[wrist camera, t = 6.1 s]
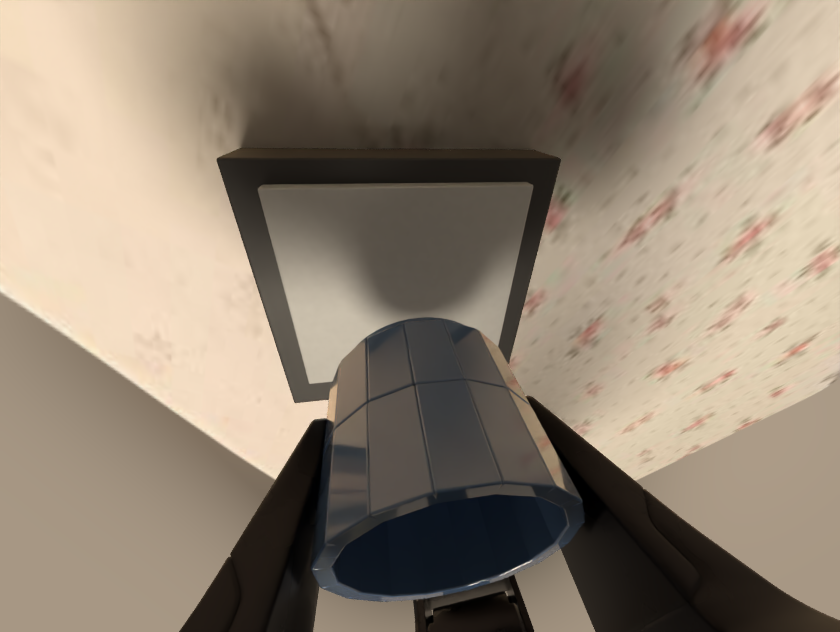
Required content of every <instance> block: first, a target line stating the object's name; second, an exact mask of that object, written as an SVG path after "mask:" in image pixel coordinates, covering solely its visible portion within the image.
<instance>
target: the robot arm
mask: <svg viewBox="0 0 840 632" xmlns="http://www.w3.org/2000/svg"><path fill="white" fill-rule="evenodd" d="M526 398H527V400H528V402H529V404H530V406H531V408H532V409H533V411H534V412H535V414H536V416H537V418H538V420H539V422H540V423H541V425H542V427H543V429H544V431H545V433H546V434H547V436H548V438H549V440H550V442H551V444H552V445H553V447H554V449H555V451H556V453H557V455H558V456H559V458H560V460H561V462H562V464H563V465H564V467H565V469H566V471H567V473H568V475H569V476H570V478H571V480H572V482H573V484H574V486H575V487H576V489H577V491H578V493H579V495H580V497H581V498H582V501H583V508H584V516H585V521H584V524H583V525H582V526H581V528H580V529H579V530H578V532H577V533H576V534H575V536H574V537H573V538H572V540H571V541H570V542H569V543H568V544H566V545H565V546H564V547H562V548H561V550H562V553H563V555H564V557H565V560H566V562H567V565H568V567H569V570H570V572H571V574H572V577H573V579H574V581H575V584H576V586H577V589H578V591H579V594H580V596H581V598H582V600H583V603H584V605H585V608H586V610H587V613H588V615H589V617H590V620H591V622H592V625H593V627H594V629H595V631H596V632H840V620H837V619H835V618H833V617H830V616H828V615H826V614H824V613H821V612H819V611H817V610H815V609H813V608H811V607H809V606H807V605H805V604H804V603H802V602H800V601H798V600H796V599H795V598H793V597H791V596H790V595H788V594H786V593H784V592H783V591H781V590H780V589H778V588H777V587H775V586H774V585H773V584H771V583H770V582H768V581H767V580H766V579H764V578H763V577H762V576H760V575H759V574H757V573H756V572H755V571H753V570H752V569H750V568H749V567H748V566H746V565H745V564H744V563H742V562H741V561H739V560H738V559H736V558H735V557H734V556H732V555H731V554H730V553H728V552H727V551H725V550H724V549H722V548H721V547H720V546H718V545H717V544H715V543H714V542H713V541H712V540H710V539H709V538H707V537H706V536H705V535H703V534H702V533H701V532H699V531H698V530H697V529H695V528H694V527H692V526H691V525H690V524H689V523H687V522H686V521H685V520H683V519H682V518H680V517H679V516H677V514H675V513H674V512H673V511H672V510H670V509H669V508H668V507H667V506H665V505H664V504H663V503H662V502H660V501H659V500H658V499H657V498H655V497H654V496H653V495H652V494H650V493H649V492H648V491H647V490H645V489H643V487H642V486H641V485H639V484H638V483H637V482H636V481H635V480H633V479H632V478H631V477H630V476H628V475H627V474H626V473H625V472H624V471H622V470H621V469H620V468H619V467H617V466H616V465H615V464H614V463H613V462H611V461H610V460H609V459H608V458H606V457H605V456H604V455H603V454H602V453H600V452H599V451H598V450H597V449H595V448H594V447H593V446H592V445H591V444H589V443H588V442H587V441H586V440H584V439H583V438H582V437H581V436H580V435H578V434H577V433H576V432H575V431H573V430H572V429H571V428H570V427H569V426H567V425H566V424H565V423H564V422H563V421H561V420H560V419H559V418H558V417H556V416H555V415H554V414H553V413H552V412H550V411H549V410H548V409H547V408H545V407H544V406H543V405H542V404H541V403H539V402H538V401H537V400H536V399H534V398H533V397H531V396H526ZM326 421H327V418H324V419H315V420H313V421H312V422H311V424H310V425H309V427H308V428H307V430H306V432H305V433H304V435H303V437H302V438H301V440H300V441H299V443H298V445H297V446H296V448H295V450H294V451H293V453H292V454H291V456H290V458H289V459H288V461H287V462H286V464H285V466H284V467H283V469H282V471H281V472H280V474H279V475H278V477H277V479H276V480H275V482H274V484H273V485H272V487H271V489H270V490H269V492H268V493H267V495H266V497H265V498H264V500H263V501H262V503H261V505H260V506H259V508H258V510H257V511H256V513H255V515H254V516H253V518H252V519H251V521H250V522H249V524H248V526H247V527H246V529H245V531H244V532H243V534H242V536H241V537H240V539H239V541H238V542H237V544H236V545H235V547H234V548H233V550H232V552H231V554H230V555H231V557H228V558H227V560H226V561H225V563H224V565H223V566H222V568H221V569H220V571H219V573H218V574H217V576H216V578H215V579H214V581H213V582H212V584H211V585H210V587H209V588H208V590H207V591H206V593H205V595H204V596H203V598H202V599H201V601H200V602H199V604H198V605H197V607H196V608H195V610H194V611H193V613H192V614H191V616H190V617H189V618H188V620H187V621H186V623H185V624H184V626H183V627H182V628H181V630H180V631H179V632H313V627H314V621H315V613H316V606H317V599H318V591H319V585H318V583H317V581H316V579H315V577H314V575H313V573H312V571H311V568H310V567H311V557H312V548H313V539H314V529H315V520H316V511H317V502H318V493H319V484H320V475H321V466H322V457H323V450H324V441H325V431H326ZM505 591H507V593H508V596H506V593H505ZM413 603H414V613H415V630H416V631H415V632H534V629H533V626H532V623H531V621H530V618H529V615H528V612H527V609H526V607H525V604H524V601H523V598H522V596H521V593H520V590H519V587H518V585H517V582H516V579H515V576H514V575H511V576H509V577H507V578H504V579H502V580H498V581H495V582H492V583H489V584H486V585H482V586H479V587H476V588H473V589H470V590H465V591H462V592H457V593H452V594H447V595H442V596H436V597H431V598H426V599H425V598H423V599H416V600H413ZM431 610H433V615H432V611H431Z"/></svg>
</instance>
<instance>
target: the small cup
mask: <svg viewBox="0 0 840 632" xmlns="http://www.w3.org/2000/svg"><path fill="white" fill-rule="evenodd" d="M584 521H585V516H584V508H583V501H582V498H581V497H580V495H579V493H578V491H577V489H576V487H575V486H574V484H573V482H572V480H571V478H570V476H569V475H568V473H567V471H566V469H565V467H564V465H563V464H562V462H561V460H560V458H559V456H558V455H557V453H556V451H555V449H554V447H553V445H552V444H551V442H550V440H549V438H548V436H547V434H546V433H545V431H544V429H543V427H542V425H541V423H540V422H539V420H538V418H537V416H536V414H535V412H534V411H533V409H532V408H531V406H530V404H529V402H528V400H527V398H526V396H525V395H524V393H523V391H522V389H521V387H520V385H519V384H518V382H517V380H516V378H515V376H514V374H513V373H512V371H511V369H510V367H509V365H508V363H507V362H506V360H505V358H504V356H503V354H502V352H501V351H500V349H499V347H498V346H497V345H495V344H494V343H493V342H492V341H491V340H490V339H489V338H487V337H486V336H485V335H484V334H483V333H482V332H480V331H479V330H477V329H476V328H473V327H469V326H465V325H463V324H461V323H458V322H456V321H453V320H448V319H444V318H435V317H419V318H411V319H406V320H402V321H398V322H395V323H392V324H389V325H386V326H384V327H382V328H380V329H378V330H376V331H375V332H373V333H371V334H370V335H368V336H367V337H366V338H364V339H363V340H362V341H361V342H360V343H359V344H358V345H357V346H356V347H355V348H354V349H353V350H352V351H351V352H350V353H349V354H348V355H346V356H345V357H344V358H343V359H342V360H341V363H340V364H339V366H338V368H337V371H336V374H335V376H334V379H333V381H332V384H331V386H330V394H329V403H328V412H327V421H326V431H325V441H324V450H323V457H322V466H321V475H320V484H319V493H318V502H317V511H316V520H315V529H314V539H313V548H312V557H311V567H310V568H311V571H312V573H313V575H314V577H315V579H316V581H317V583H318V585H319V586H320V587H321V588H322V589H324V590H327V591H330V592H332V593H335V594H337V595H340V596H342V597H345V598H349V599H357V600H368V601H380V602H383V601H385V602H389V601H403V600H416V599H423V598H425V599H426V598H431V597H436V596H442V595H447V594H452V593H457V592H462V591H465V590H470V589H473V588H476V587H479V586H482V585H486V584H489V583H492V582H495V581H498V580H502V579H504V578H507V577H509V576H511V575H514V574H516V573H518V572H520V571H522V570H525V569H526V568H529V567H531V566H533V565H535V564H538V563H539V562H542V561H543V560H544V559H546V558H547V557H549V556H550V555H552V554H553V553H555V552H556V551H558V550H559V549H561V548H562V547H564V546H565V545H566V544H568V543H569V542H570V541H571V540H572V538H573V537H574V536H575V534H576V533H577V532H578V530H579V529H580V528H581V526H582V525H583V524H584Z"/></svg>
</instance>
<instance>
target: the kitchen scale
mask: <svg viewBox="0 0 840 632" xmlns="http://www.w3.org/2000/svg"><path fill="white" fill-rule="evenodd" d="M560 162H561V159H560V158H558V157H555V156H552V155H549V154H545V153H542V152H539V151H536V150H520V149H319V148H240V149H237V150H235V151H233V152H230V153H228V154H226V155H223V156H221V157H219V158H217V163H218V166H219V169H220V172H221V175H222V178H223V182H224V185H225V188H226V191H227V194H228V197H229V200H230V203H231V206H232V210H233V213H234V216H235V219H236V222H237V225H238V228H239V231H240V234H241V238H242V241H243V244H244V247H245V250H246V253H247V256H248V259H249V262H250V266H251V269H252V272H253V275H254V278H255V281H256V284H257V287H258V290H259V294H260V297H261V300H262V303H263V306H264V309H265V312H266V315H267V318H268V322H269V325H270V328H271V331H272V334H273V337H274V340H275V343H276V347H277V350H278V353H279V356H280V359H281V362H282V365H283V368H284V371H285V375H286V378H287V381H288V384H289V387H290V390H291V393H292V396H293V399H294V402H295V403H300V402H310V401H320V400H329V394H330V386H331V384H332V381H333V379H334V376H335V374H336V371H337V368H338V366H339V364H340V363H341V360H342V359H343V358H344V357H345V356H346V355H348V354H349V353H350V352H351V351H352V350H353V349H354V348H355V347H356V346H357V345H358V344H359V343H360V342H361V341H362V340H363V339H364V338H366V337H367V336H368V335H370V334H371V333H373V332H375V331H376V330H378V329H380V328H382V327H384V326H386V325H389V324H392V323H395V322H398V321H402V320H406V319H411V318H419V317H435V318H444V319H448V320H453V321H456V322H458V323H461V324H463V325H465V326H469V327H473V328H476V329H477V330H479V331H480V332H482V333H483V334H484V335H485V336H486V337H487V338H489V339H490V340H491V341H492V342H493V343H494V344H495V345H497V346H498V347H499V349H500V351H501V352H502V354H503V356H504V358H505V360H506V362H507V363H508V364H509V360H510V356H511V352H512V349H513V345H514V341H515V337H516V333H517V329H518V325H519V321H520V318H521V314H522V310H523V306H524V302H525V298H526V294H527V290H528V287H529V283H530V279H531V275H532V271H533V267H534V263H535V259H536V255H537V252H538V248H539V244H540V240H541V236H542V232H543V228H544V224H545V221H546V217H547V213H548V209H549V205H550V201H551V197H552V193H553V189H554V186H555V182H556V178H557V174H558V170H559V166H560Z"/></svg>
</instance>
